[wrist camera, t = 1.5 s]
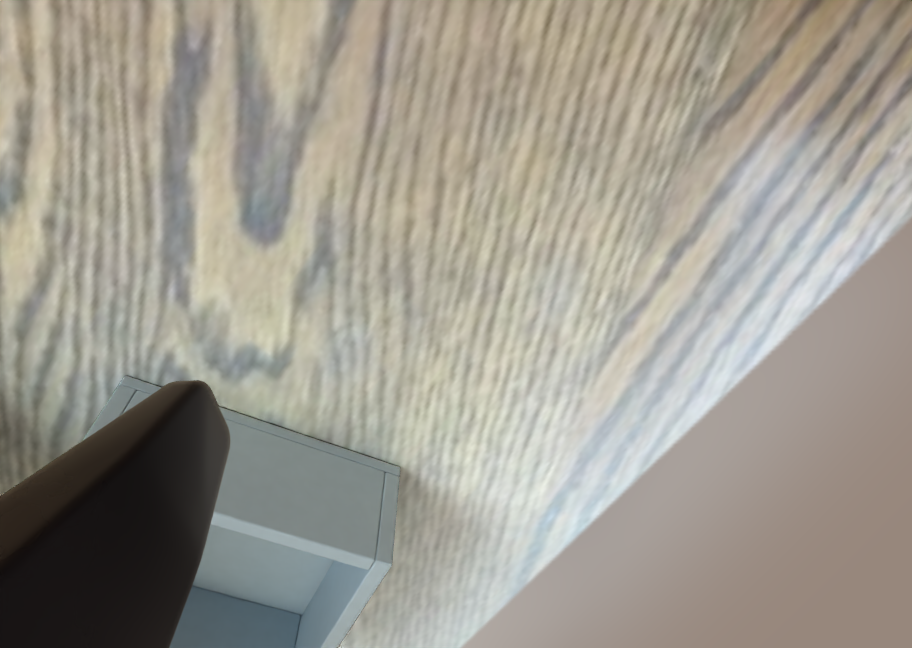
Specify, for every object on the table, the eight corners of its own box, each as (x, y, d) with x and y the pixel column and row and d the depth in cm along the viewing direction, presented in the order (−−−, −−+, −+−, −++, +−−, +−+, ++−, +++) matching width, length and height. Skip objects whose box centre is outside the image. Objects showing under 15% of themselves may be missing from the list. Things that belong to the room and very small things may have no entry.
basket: (76, 552, 29) (21, 653, 25) (124, 374, 24) (63, 468, 20) (312, 615, 31) (293, 716, 28) (401, 467, 26) (392, 565, 22)
